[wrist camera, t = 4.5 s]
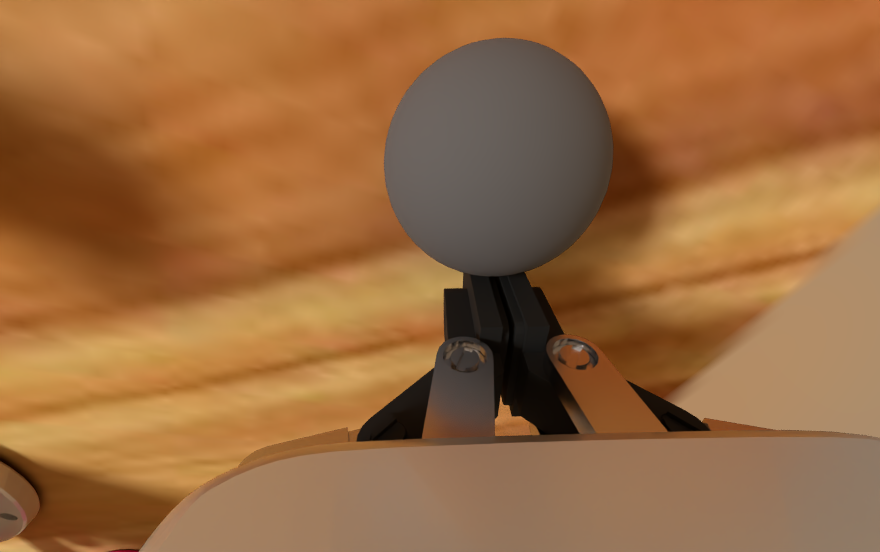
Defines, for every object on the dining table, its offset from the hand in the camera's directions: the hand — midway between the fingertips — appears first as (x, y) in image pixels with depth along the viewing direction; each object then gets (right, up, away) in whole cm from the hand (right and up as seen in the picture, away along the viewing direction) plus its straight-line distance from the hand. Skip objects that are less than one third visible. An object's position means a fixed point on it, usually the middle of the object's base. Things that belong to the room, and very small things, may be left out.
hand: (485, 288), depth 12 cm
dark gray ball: (0, +3, -3) cm, 5 cm away
